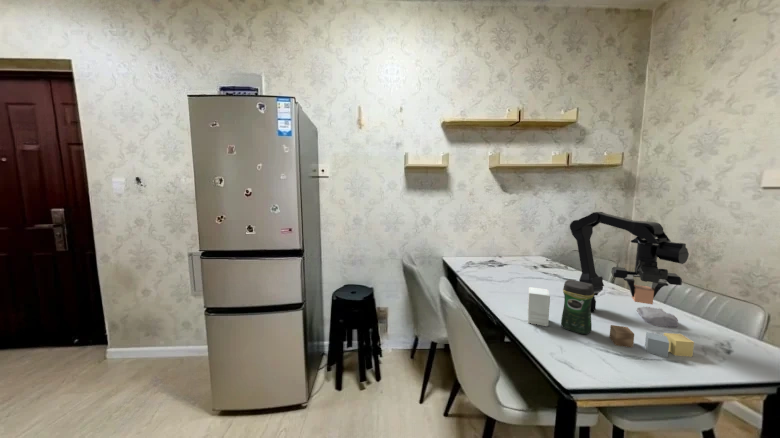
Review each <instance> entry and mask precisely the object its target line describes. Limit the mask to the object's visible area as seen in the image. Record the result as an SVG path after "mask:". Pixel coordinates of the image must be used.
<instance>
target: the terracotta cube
mask: <svg viewBox="0 0 780 438" xmlns="http://www.w3.org/2000/svg"><path fill="white" fill-rule="evenodd" d="M653 297H654V290H653V289H652V286H647V285H639V284H634V297H632V296H631V299H632V300H633V301H634V303H640V304H647V305H653V304H654V298H655V297H654V298H653Z"/></svg>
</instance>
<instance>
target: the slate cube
mask: <svg viewBox="0 0 780 438" xmlns="http://www.w3.org/2000/svg"><path fill="white" fill-rule="evenodd" d="M644 347H645V351H646V353H649V354H652V355H656V356H660V357H664V358H669V357H668V356H669V351H668V350H669V341H668V338H667V336H664V334H663V335H662V334H658V333H654V332H649V331H646V332H645V341H644Z"/></svg>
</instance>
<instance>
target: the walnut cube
mask: <svg viewBox="0 0 780 438" xmlns="http://www.w3.org/2000/svg"><path fill="white" fill-rule="evenodd" d="M609 339H610V341H611V342H612V343H613V345H614V346H619V347H625V348H631V349H633V348H634V343H635V333H634V332H633V331H632V330H631V329H630V328H629V327H628V326H624V325H623V326H622V325H616V324H615V325H614V324H610V327H609Z"/></svg>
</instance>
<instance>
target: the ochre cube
mask: <svg viewBox="0 0 780 438" xmlns="http://www.w3.org/2000/svg"><path fill="white" fill-rule="evenodd" d="M663 336H667V338H668V341H669V350H668V353H670V354H671V355H674V356H675V357H676V356H679V357H690V358H691V357H693V354H694V347H695V341H693V340H692V339H690V338H688V337H687V336H685V335H683V334H682V333H672V332H671V333H669V332H663Z"/></svg>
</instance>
